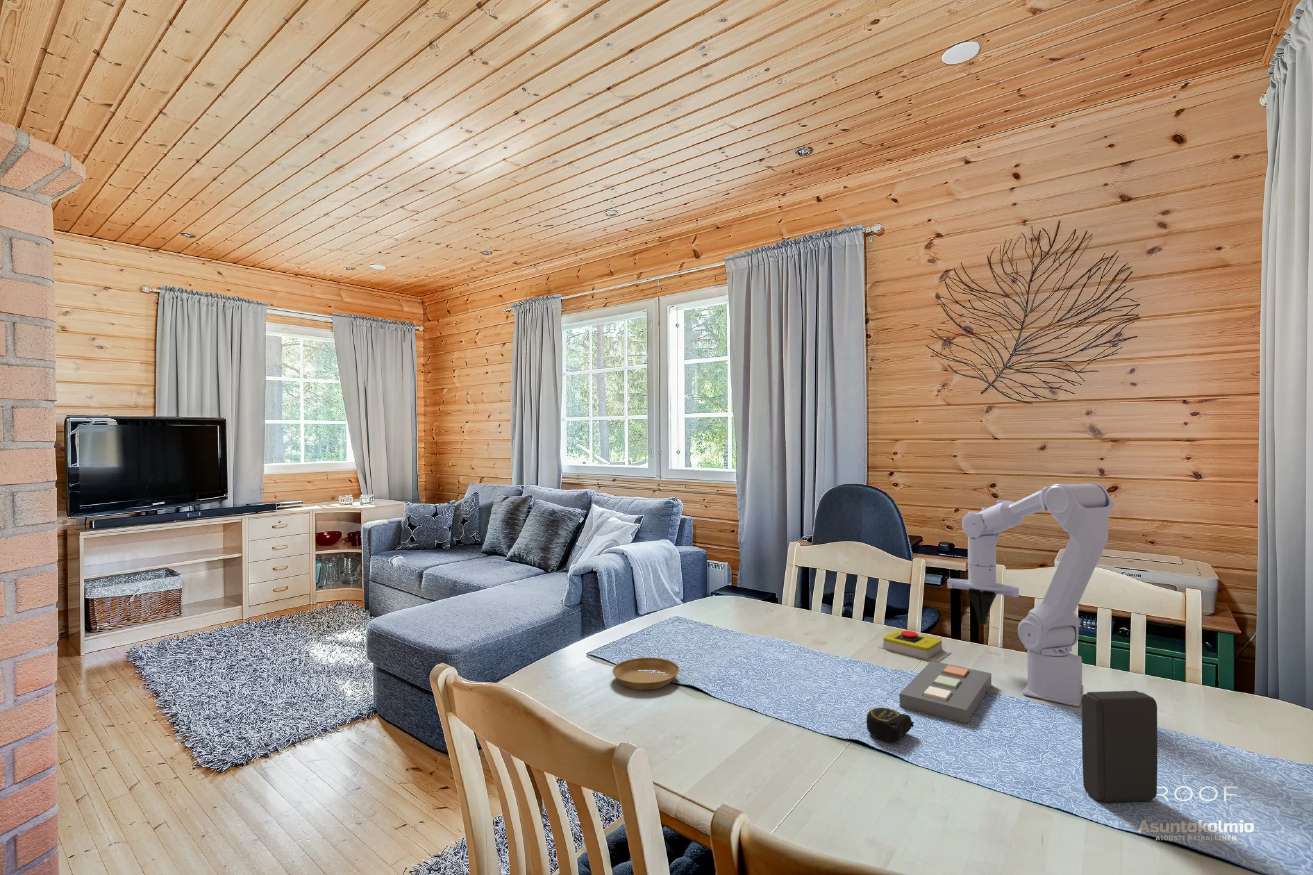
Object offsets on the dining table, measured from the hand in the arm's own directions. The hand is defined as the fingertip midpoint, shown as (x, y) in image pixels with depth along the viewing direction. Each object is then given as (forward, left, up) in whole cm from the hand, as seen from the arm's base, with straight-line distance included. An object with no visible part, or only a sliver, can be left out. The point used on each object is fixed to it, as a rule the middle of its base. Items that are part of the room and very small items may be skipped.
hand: (982, 623), depth 143 cm
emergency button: (+16, 0, -10) cm, 19 cm away
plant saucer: (+56, +54, -10) cm, 78 cm away
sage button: (+2, +23, -9) cm, 25 cm away
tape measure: (+5, +47, -10) cm, 48 cm away
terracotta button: (+2, +16, -9) cm, 18 cm away
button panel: (+2, +23, -9) cm, 25 cm away
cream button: (+2, +30, -9) cm, 31 cm away
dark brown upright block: (-27, +45, -10) cm, 53 cm away
